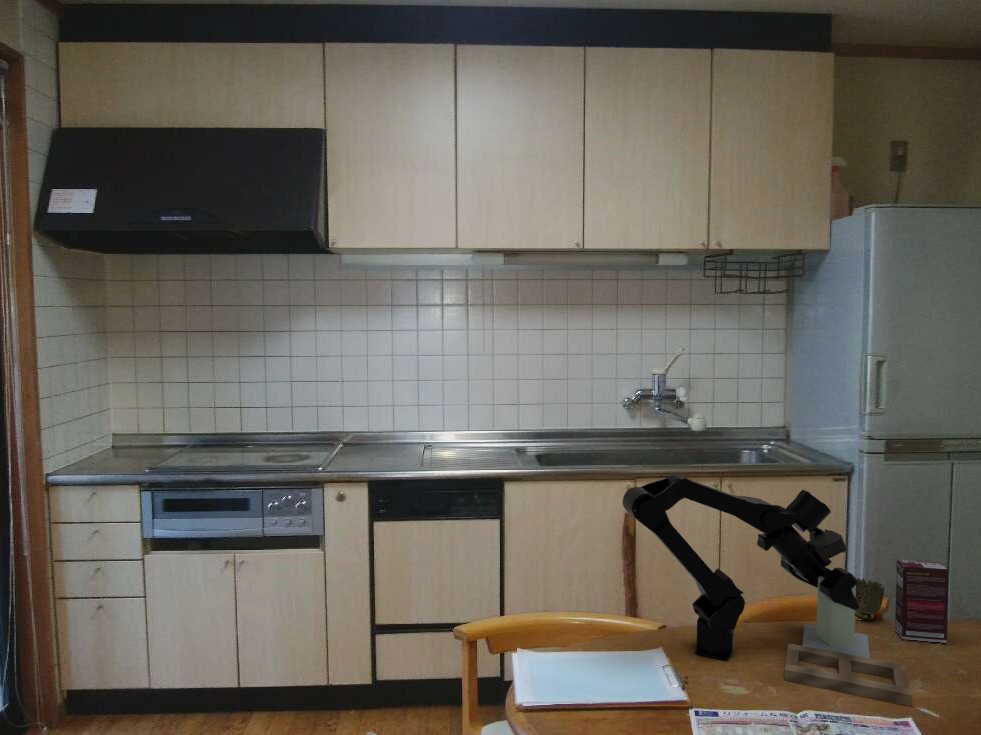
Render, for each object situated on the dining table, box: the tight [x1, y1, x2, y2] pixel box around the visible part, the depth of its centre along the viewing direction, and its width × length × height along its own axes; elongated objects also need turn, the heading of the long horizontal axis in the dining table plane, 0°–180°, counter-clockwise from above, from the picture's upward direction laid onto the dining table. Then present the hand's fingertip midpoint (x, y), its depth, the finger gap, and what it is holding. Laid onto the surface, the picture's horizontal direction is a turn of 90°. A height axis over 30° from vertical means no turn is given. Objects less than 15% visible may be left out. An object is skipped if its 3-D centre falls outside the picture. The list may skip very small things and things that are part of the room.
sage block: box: [816, 568, 857, 646], centre depth 141 cm, size 5×5×14 cm
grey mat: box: [801, 623, 871, 659], centre depth 141 cm, size 12×12×1 cm
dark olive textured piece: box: [855, 577, 886, 622], centre depth 155 cm, size 8×7×8 cm
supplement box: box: [894, 559, 950, 644], centre depth 145 cm, size 9×5×16 cm, turn 77°
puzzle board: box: [784, 642, 912, 707], centre depth 128 cm, size 20×12×2 cm, turn 64°
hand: (842, 599), depth 141 cm, fingers open, 9 cm apart
